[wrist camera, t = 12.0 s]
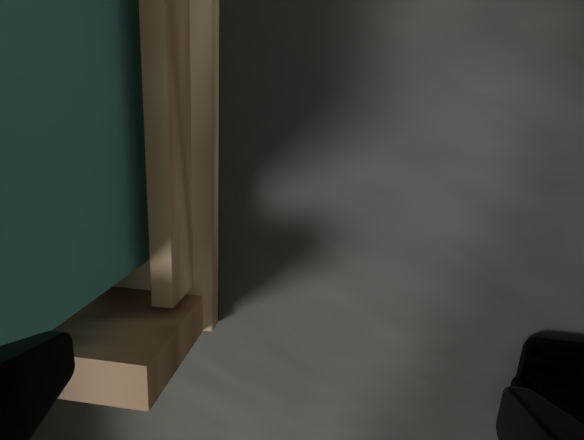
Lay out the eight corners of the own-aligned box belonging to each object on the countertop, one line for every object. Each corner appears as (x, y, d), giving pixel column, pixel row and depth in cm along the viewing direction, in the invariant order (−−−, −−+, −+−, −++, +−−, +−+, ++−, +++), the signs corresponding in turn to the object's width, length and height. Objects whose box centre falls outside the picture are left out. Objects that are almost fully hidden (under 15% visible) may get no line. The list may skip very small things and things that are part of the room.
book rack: (219, -105, 17) (135, -256, 10) (217, 322, 22) (161, 413, 15) (3, -103, 18) (-205, -239, 11) (50, 302, 23) (-73, 380, 16)
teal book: (145, -8, 17) (-113, -173, 7) (156, 254, 20) (-17, 379, 10) (59, -10, 17) (-291, -167, 8) (83, 247, 20) (-148, 361, 11)
